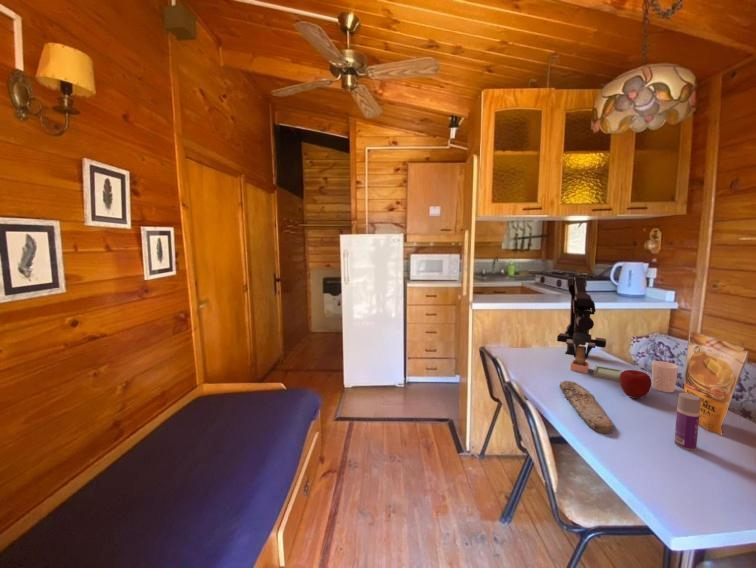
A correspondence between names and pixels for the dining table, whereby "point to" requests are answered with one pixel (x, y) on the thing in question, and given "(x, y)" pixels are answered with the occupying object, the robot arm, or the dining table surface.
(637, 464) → the dining table surface
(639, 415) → the dining table surface
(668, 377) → the pink cylinder
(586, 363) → the holder
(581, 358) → the dowel
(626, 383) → the apple
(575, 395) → the french baguette
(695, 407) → the container
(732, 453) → the dining table surface
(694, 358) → the pancake mix bag
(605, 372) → the tray
